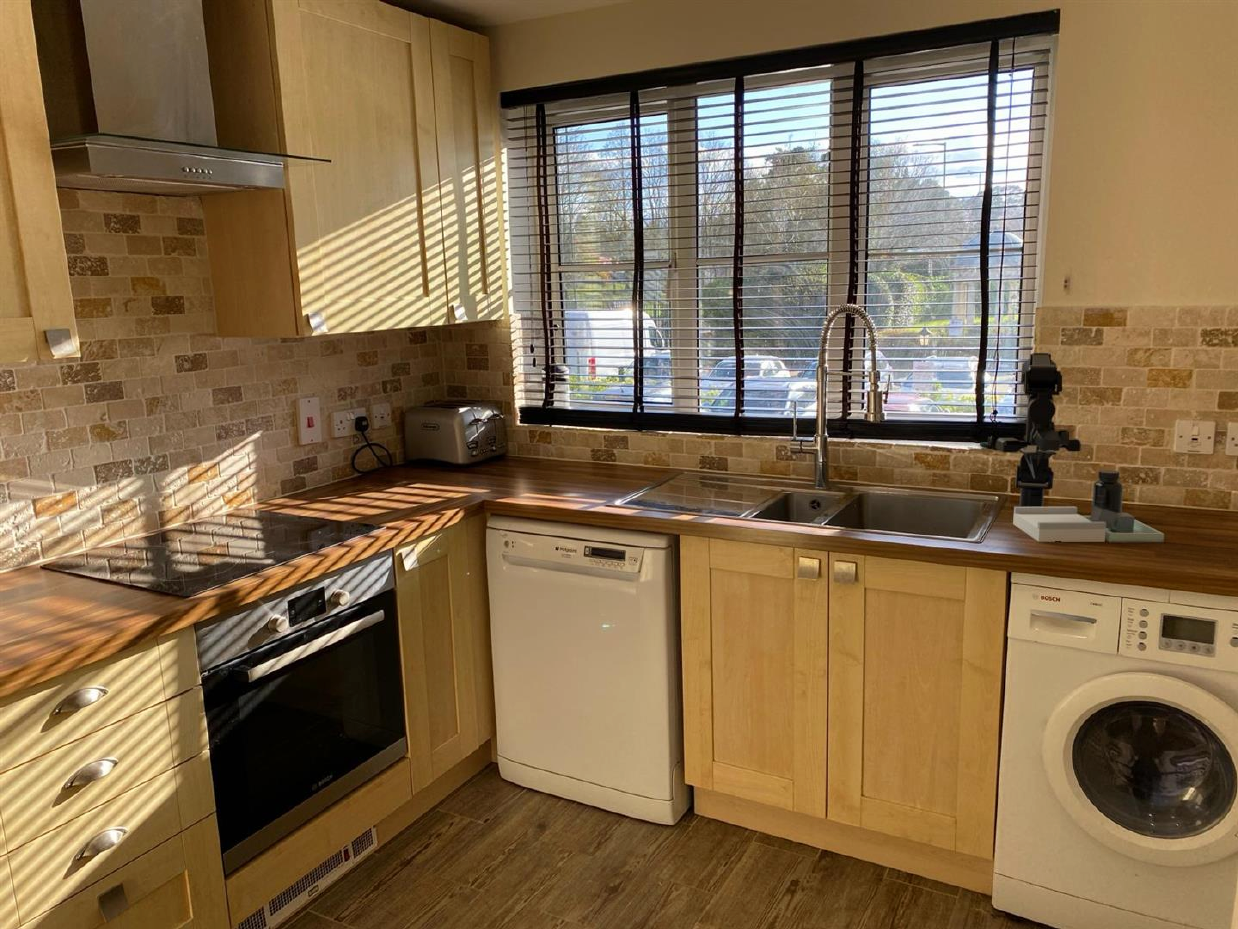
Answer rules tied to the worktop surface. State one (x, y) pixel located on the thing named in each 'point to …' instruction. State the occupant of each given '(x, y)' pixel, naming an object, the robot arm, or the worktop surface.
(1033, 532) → the channel
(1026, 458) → the robot arm
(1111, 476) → the supplement bottle
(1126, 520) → the gray cube
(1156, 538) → the tray
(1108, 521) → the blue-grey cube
